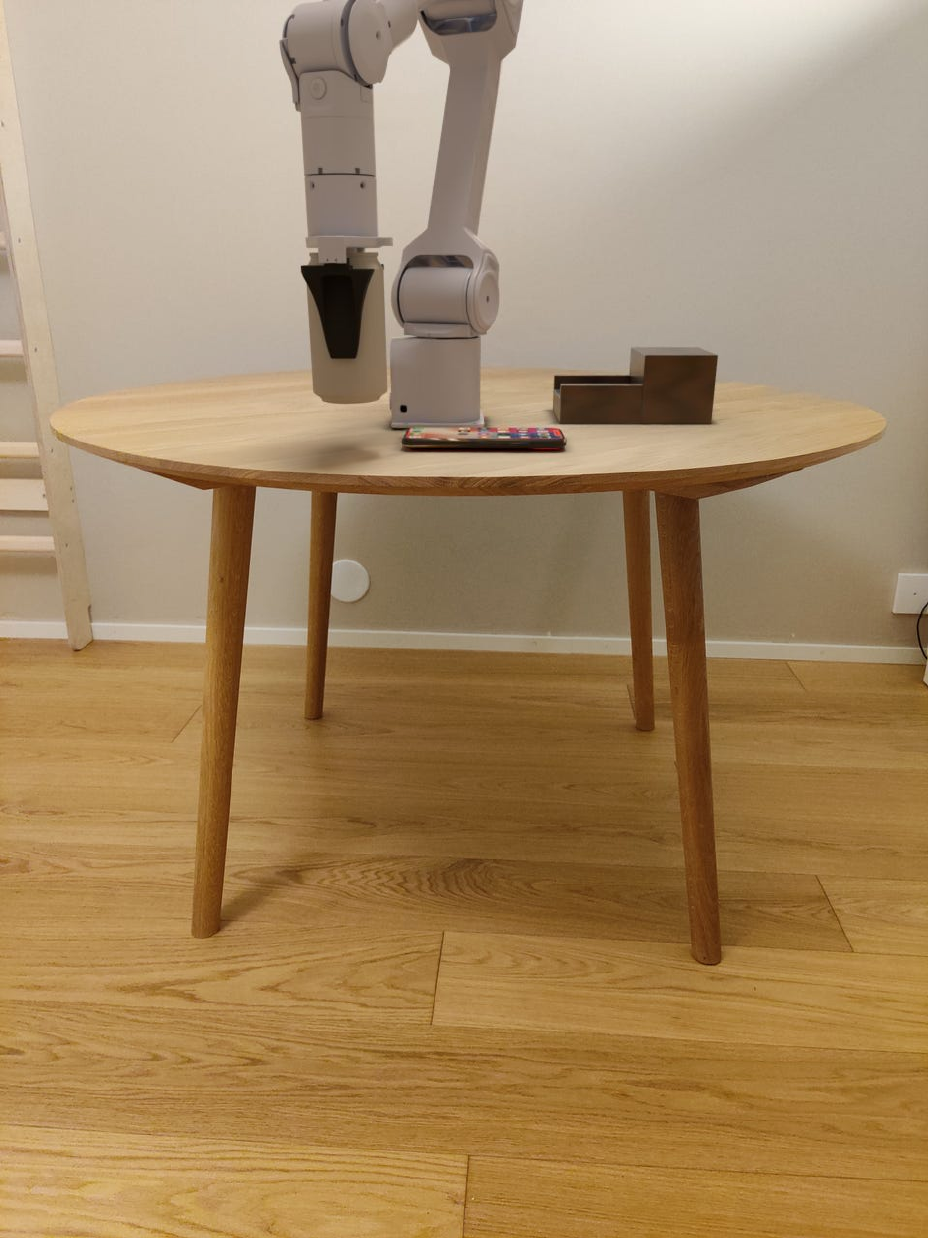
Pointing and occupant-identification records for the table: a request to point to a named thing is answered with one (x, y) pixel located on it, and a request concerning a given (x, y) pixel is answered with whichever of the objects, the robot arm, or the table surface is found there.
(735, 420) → the table surface
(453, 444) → the smartphone
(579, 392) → the wooden desk organizer
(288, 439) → the table surface
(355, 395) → the beverage can
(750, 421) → the table surface
